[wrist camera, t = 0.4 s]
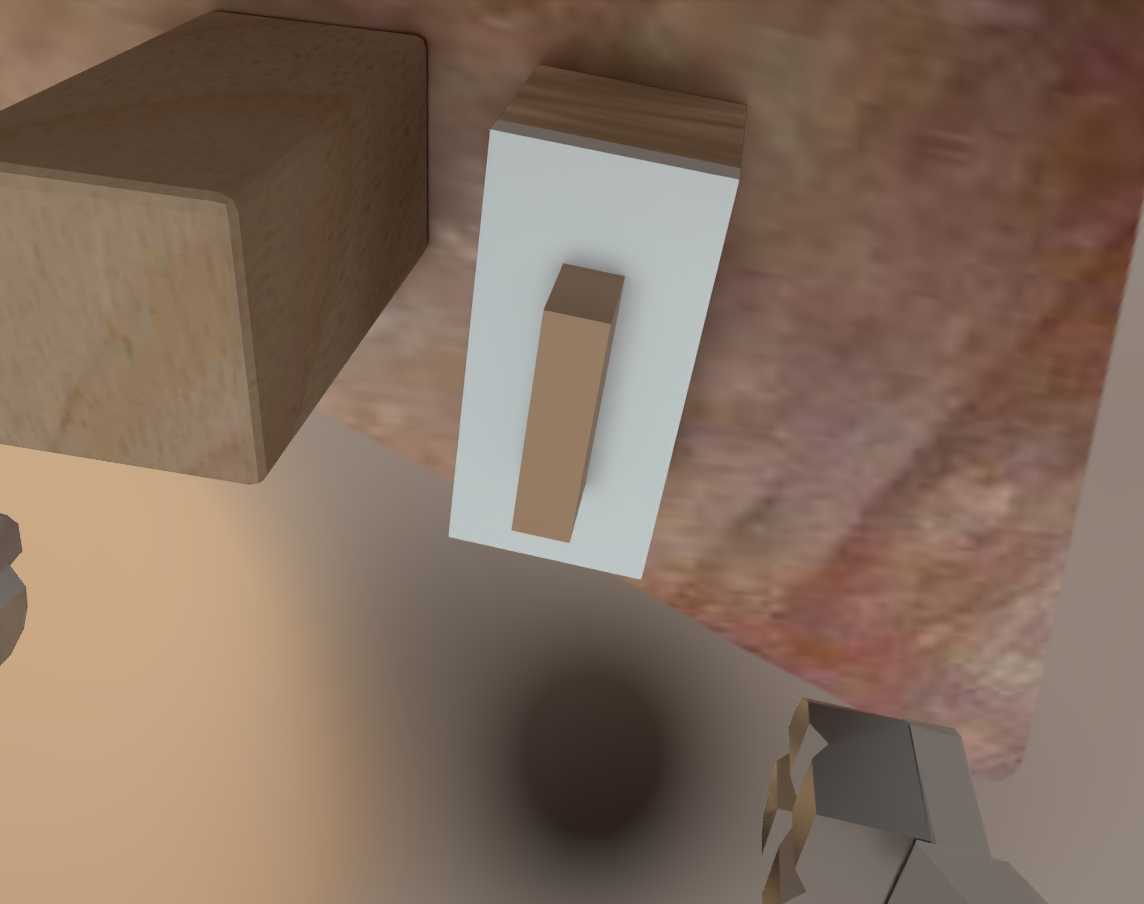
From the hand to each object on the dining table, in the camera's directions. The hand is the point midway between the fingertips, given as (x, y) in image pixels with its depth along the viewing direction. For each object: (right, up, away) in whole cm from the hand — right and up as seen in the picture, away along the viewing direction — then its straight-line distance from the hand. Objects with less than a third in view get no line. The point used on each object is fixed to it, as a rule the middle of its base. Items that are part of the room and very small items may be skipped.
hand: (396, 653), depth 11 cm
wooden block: (-10, +17, +38) cm, 43 cm away
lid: (+2, +6, +33) cm, 34 cm away
